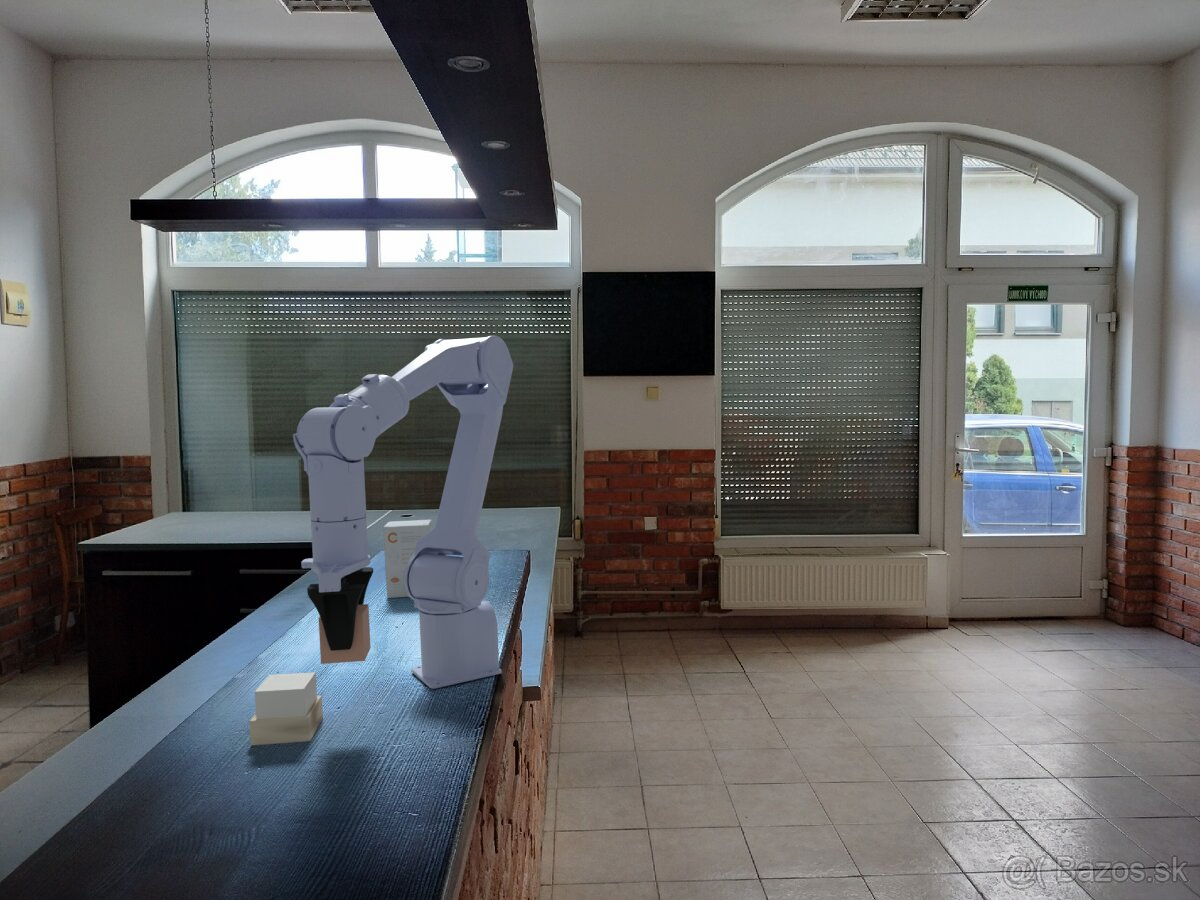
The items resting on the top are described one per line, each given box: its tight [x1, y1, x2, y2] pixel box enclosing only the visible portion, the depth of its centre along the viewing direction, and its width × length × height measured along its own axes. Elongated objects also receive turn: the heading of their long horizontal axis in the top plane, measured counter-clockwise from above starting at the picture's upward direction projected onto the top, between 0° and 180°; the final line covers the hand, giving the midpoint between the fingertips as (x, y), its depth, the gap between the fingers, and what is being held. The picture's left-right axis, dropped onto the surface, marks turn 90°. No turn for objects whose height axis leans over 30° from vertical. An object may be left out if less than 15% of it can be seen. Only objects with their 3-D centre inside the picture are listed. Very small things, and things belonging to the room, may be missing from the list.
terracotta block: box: [318, 603, 371, 665], centre depth 88 cm, size 4×4×5 cm
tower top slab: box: [254, 671, 318, 719], centre depth 88 cm, size 5×5×3 cm
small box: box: [382, 519, 433, 599], centre depth 147 cm, size 8×6×13 cm
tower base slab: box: [249, 695, 324, 746], centre depth 88 cm, size 6×6×3 cm
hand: (345, 641), depth 88 cm, fingers closed on terracotta block, 4 cm apart
